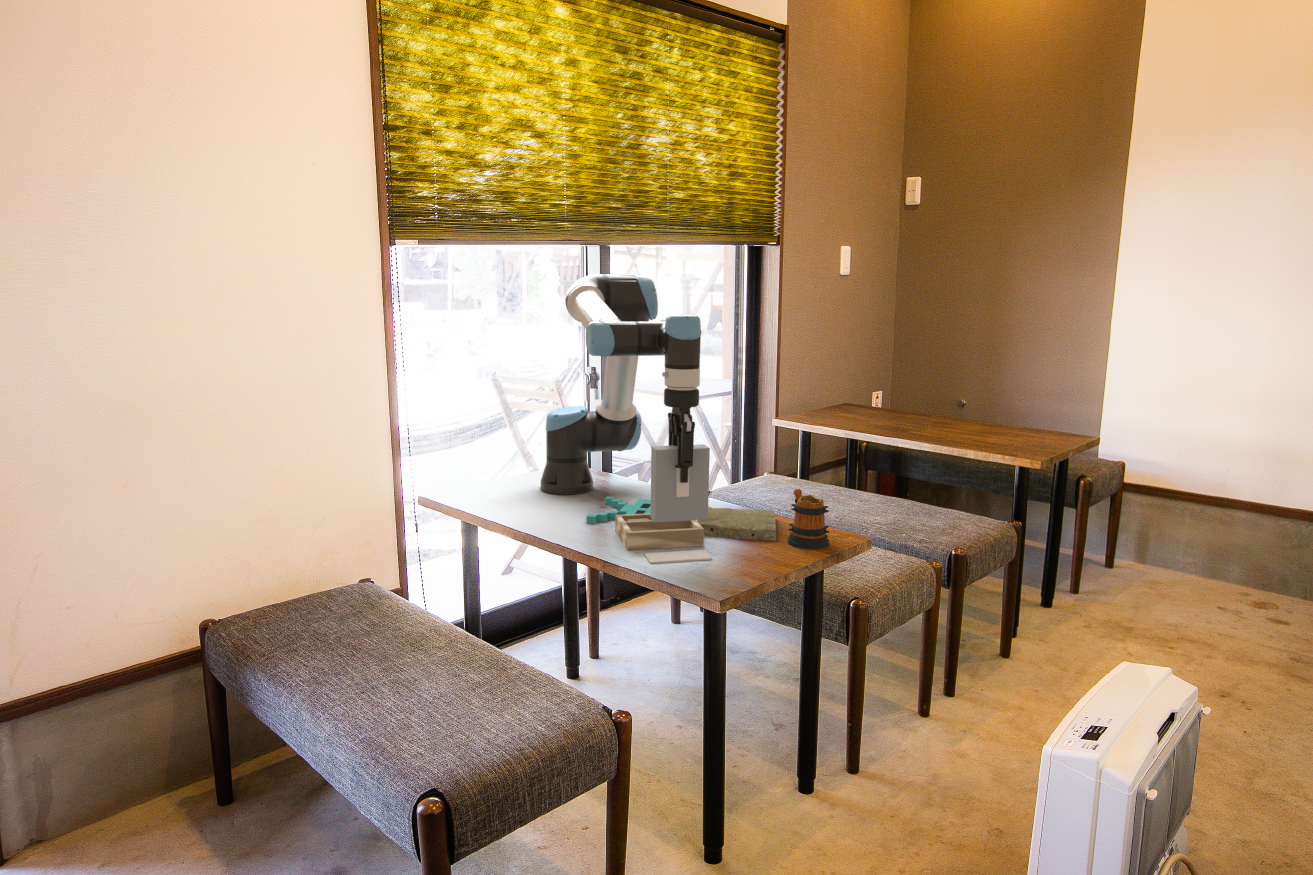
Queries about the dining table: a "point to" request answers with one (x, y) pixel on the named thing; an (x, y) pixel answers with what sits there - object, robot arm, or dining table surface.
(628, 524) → the rack
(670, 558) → the felt mat
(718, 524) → the decorative tile
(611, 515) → the alien figure
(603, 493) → the dining table surface
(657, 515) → the slate board
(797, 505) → the mug
